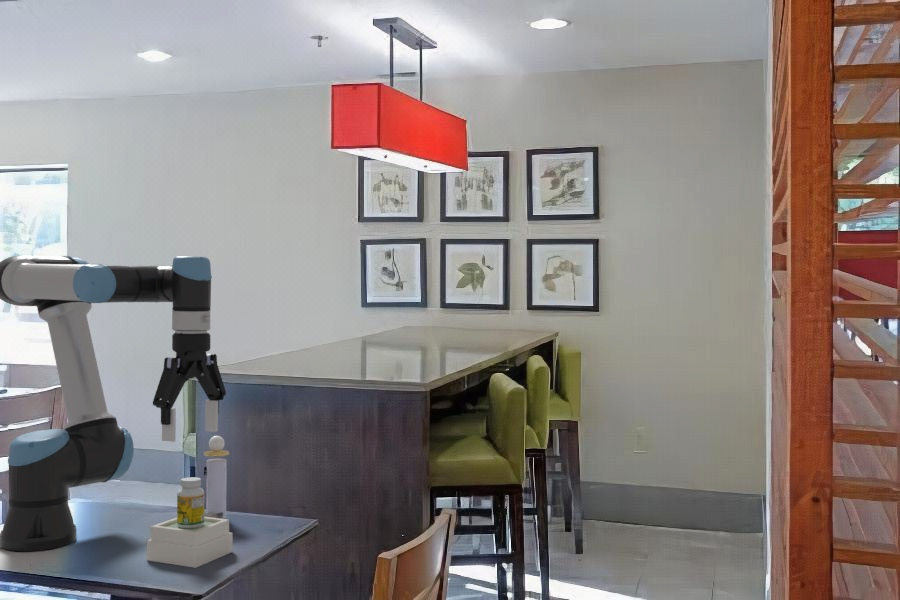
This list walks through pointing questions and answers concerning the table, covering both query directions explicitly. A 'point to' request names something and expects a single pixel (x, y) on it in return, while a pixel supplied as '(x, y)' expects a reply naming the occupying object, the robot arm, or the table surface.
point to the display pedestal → (189, 542)
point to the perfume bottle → (216, 477)
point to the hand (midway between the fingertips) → (190, 436)
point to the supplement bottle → (190, 504)
